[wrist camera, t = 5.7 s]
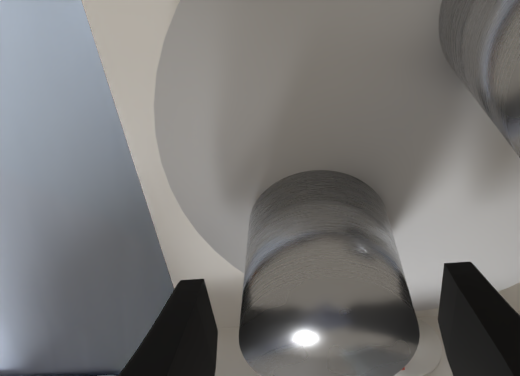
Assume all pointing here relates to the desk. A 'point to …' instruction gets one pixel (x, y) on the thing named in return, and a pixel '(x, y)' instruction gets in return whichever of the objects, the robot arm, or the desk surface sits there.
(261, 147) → the scale
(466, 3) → the cylinder
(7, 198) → the desk surface
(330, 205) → the cylinder
